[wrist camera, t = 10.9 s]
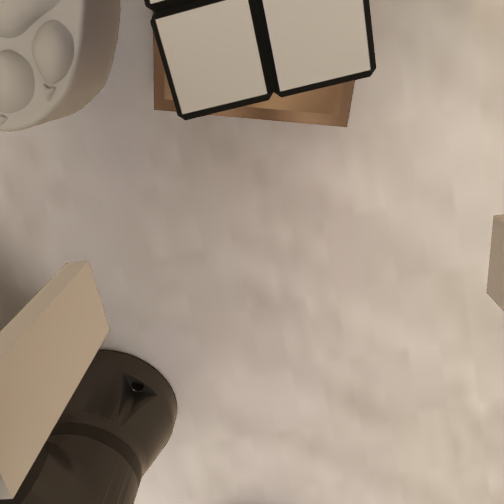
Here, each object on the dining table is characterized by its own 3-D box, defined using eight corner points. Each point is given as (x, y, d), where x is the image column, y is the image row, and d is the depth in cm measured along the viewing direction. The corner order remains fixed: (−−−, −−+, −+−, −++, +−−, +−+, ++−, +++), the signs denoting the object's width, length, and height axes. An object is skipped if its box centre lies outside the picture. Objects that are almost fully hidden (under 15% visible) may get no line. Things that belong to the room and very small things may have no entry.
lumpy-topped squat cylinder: (131, -25, 33) (87, -48, 25) (96, 138, 39) (49, 160, 31) (-5, -83, 32) (-96, -125, 24) (-23, 93, 38) (-102, 104, 30)
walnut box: (171, 101, 37) (153, 110, 32) (172, -104, 32) (150, -139, 26) (336, 115, 37) (347, 127, 32) (368, -88, 31) (388, -118, 26)
